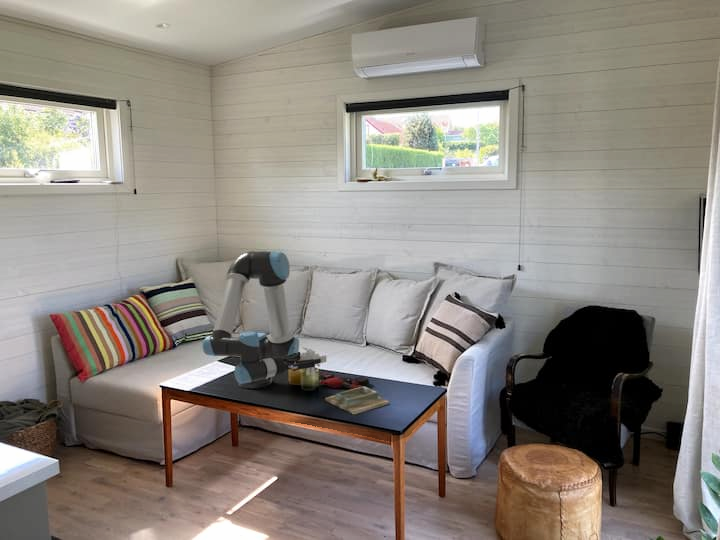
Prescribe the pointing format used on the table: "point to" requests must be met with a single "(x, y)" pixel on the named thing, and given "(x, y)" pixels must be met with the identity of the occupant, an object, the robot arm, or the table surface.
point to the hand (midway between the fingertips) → (320, 356)
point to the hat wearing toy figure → (308, 356)
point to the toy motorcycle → (342, 381)
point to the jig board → (357, 400)
